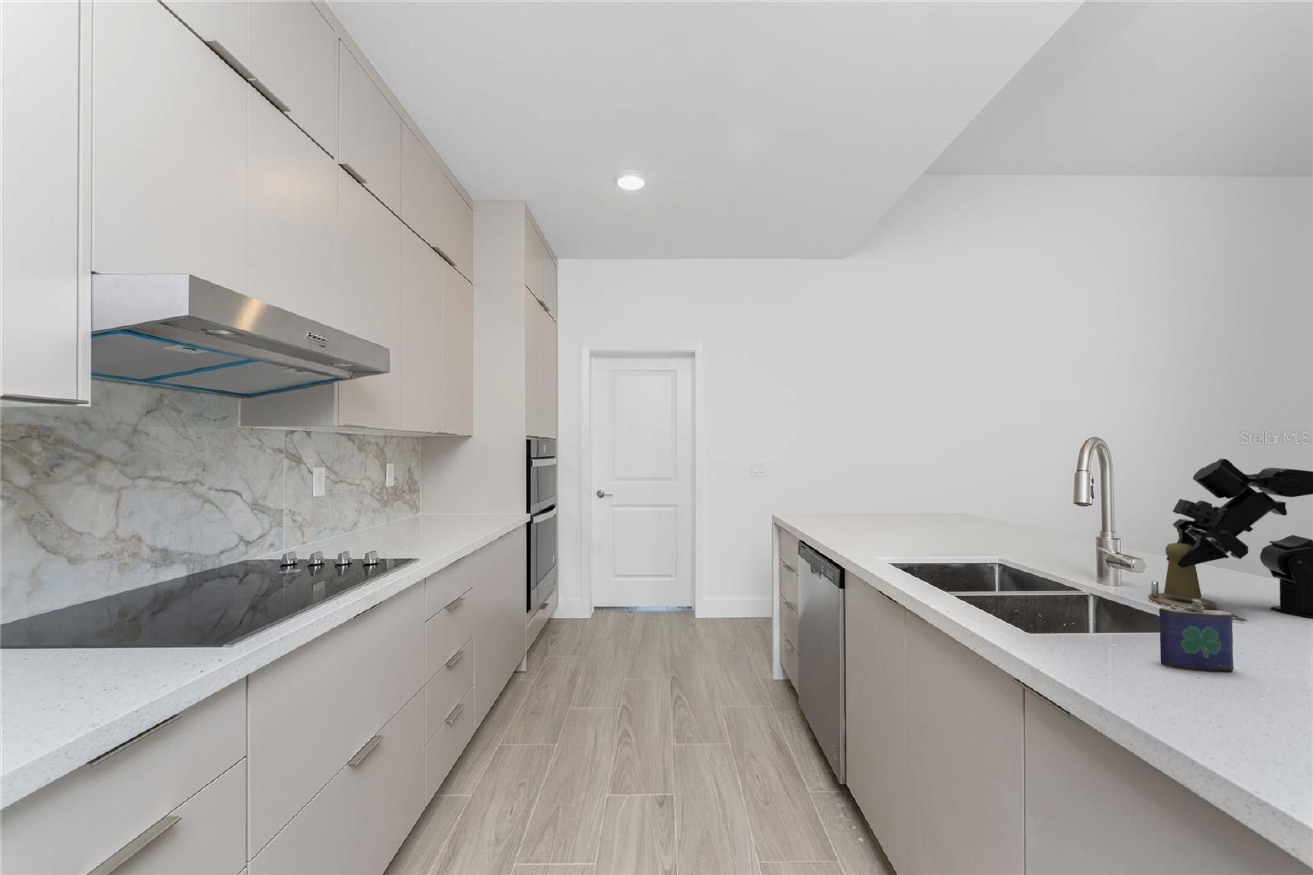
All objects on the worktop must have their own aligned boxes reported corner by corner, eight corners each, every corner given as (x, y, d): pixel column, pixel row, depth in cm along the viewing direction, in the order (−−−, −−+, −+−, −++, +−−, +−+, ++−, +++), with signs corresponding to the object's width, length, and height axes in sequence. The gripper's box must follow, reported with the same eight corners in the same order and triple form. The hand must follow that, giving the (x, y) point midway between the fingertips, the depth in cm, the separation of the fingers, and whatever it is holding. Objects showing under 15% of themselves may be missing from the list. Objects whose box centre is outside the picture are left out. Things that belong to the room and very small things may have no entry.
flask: (1227, 667, 91) (1226, 598, 91) (1239, 674, 88) (1238, 604, 88) (1156, 661, 94) (1155, 595, 94) (1166, 668, 91) (1166, 600, 91)
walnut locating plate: (1170, 594, 133) (1170, 576, 133) (1229, 608, 122) (1229, 587, 122) (1135, 599, 129) (1135, 579, 129) (1193, 613, 119) (1193, 592, 119)
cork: (1203, 599, 121) (1202, 546, 122) (1165, 595, 125) (1164, 544, 125) (1199, 593, 126) (1197, 543, 126) (1162, 589, 130) (1161, 540, 130)
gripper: (1182, 483, 133) (1124, 529, 137) (1226, 490, 116) (1158, 543, 120) (1228, 519, 130) (1167, 565, 134) (1279, 531, 113) (1208, 584, 117)
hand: (1173, 563), depth 126 cm, fingers closed on cork, 5 cm apart
